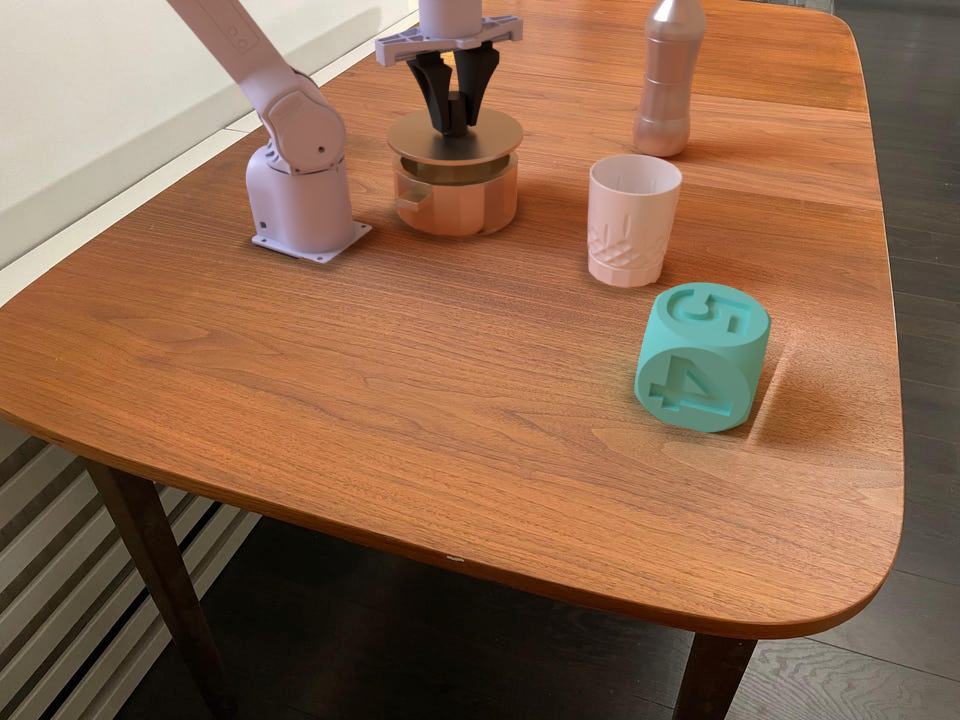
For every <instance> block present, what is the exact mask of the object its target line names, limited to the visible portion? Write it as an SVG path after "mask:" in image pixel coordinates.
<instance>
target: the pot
mask: <svg viewBox="0 0 960 720" xmlns="http://www.w3.org/2000/svg"><path fill="white" fill-rule="evenodd" d="M391 162H392V175H393V176H392V177H393V186H394V198H395V208H396V211H397V213H398V216H399V218H400V220H401V221H403V222H404V223H406V224H407V225H409V226H410V227H412V228H413V229H415V230H419V231H423V232H425V233H428V234H433V235H439V236H458V237H461V236H468V235H474V234H476V235H479V236H482V237H483V236H484V237H486V236H488V235H491V234H494V233H496V232H499V231H501V230H502V229H504V228H506V226H508V225H510V223H511V222H512V221H513V220H514V218H515V217H516V212H517V204H518V169H519V167H518V166H519V165H518V164H519V155H518V153H517V152H516V150H514V151H512V152H511V153H509V154H507V155H505V156H503V157H501V158H498V159H495V160H492V161H488V162H483V163H478V164H471V165H458V166H444V165H433V164H426V163H421V162H417V161H413V160H410V159H407V158H405V157H403V156H401V155H399V154H397V153H396V152H395V154H394V156H393V158H392V160H391Z"/></svg>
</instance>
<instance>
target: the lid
mask: <svg viewBox="0 0 960 720" xmlns="http://www.w3.org/2000/svg"><path fill="white" fill-rule="evenodd" d="M448 108H449V130H448V133H443V134H442V133H440V132H439V131H437V130H436V129H434V128H433V126H432V121H431V117H430V114H429V110H428V108H423V109H419V110H416V111H413V112H409V113H407V114H405V115H403V116H401V117H399V118H397V119H396V120H395V121H393V122H392V123H391V124H390V125H389V126H388V128H387V131H386V142H387V145H388V147H389V148H390V149H391V150H392V152H394V153H395V154H396V153H397V154H399V155H401V156H403V157H405V158H407V159H410V160H413V161H417V162H421V163H426V164H433V165H444V166H458V165H471V164H478V163H483V162H488V161H492V160H495V159H498V158H501V157H503V156H505V155H507V154H509V153H511V152H512V151H516V150H517V148H519V147H520V145H521V144H522V143H523V139H524V129H523V125H521V123H520V122H519V121H518V120H517V119H516V118H515V117H513V116H511V115H509V114H507V113H505V112H502V111H499V110H495V109H492V108H487V107H482V106H480V110H479V114H478V119H477V124H476V126H472V127H470V126H469V125H468V105H467V94H466V93H464V92H461V91H459V90H449V97H448Z"/></svg>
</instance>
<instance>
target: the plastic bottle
mask: <svg viewBox="0 0 960 720" xmlns="http://www.w3.org/2000/svg"><path fill="white" fill-rule="evenodd" d="M707 27H708V22H707V15H706V13H705V11H704V7H703V5H702V4H701V1H700V0H657V1H656V2H655V4H654V5H653V6H652V7H651V9H650V10H649V12H648V14H647V16H646V19H645V21H644V55H645V56H644V74H643V85H642V89H641V95H640V99H639V104H638V110H637V112H636V115H635V117H634V121H633V125H632V140H633V141H632V142H633V143H634V146H635V147H636V149H637V150H638V151H639V152H640V153H643V154H644V155H647V156H652V157H672V156H676V155H678V154H680V153H681V152H682V151H683V150H684V149H685V148H686V147H687V144H688V142H689V139H690V137H691V115H690V112H691V101H692V100H691V99H692V86H693V82H694V75H695V71H696V67H697V61H698V58H699V54H700V51H701V48H702V45H703V42H704V38H705V35H706V30H707Z"/></svg>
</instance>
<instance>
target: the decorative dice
mask: <svg viewBox="0 0 960 720" xmlns="http://www.w3.org/2000/svg"><path fill="white" fill-rule="evenodd" d="M772 320H773V319H772V317H771V315H770V314H769V313H768V311H767V310H766V309H765V307H764V306H763V305H762V304H761V303H760V302H759V301H757V300H756V299H755V298H754V297H752V296H751V295H749V294H748V293H746V292H744V291H742V290H739V289H737V288H734V287H732V286H728V285H725V284H719V283H713V282H698V281H697V282H687V283H682V284H679V285H675V286H673V287H671V288H669V289H666V290H664V291H663V292H661V293H660V294H658V295H657V296H656V297H655V300H654V302H653V305H652V307H651V310H650V314H649V316H648V320H647V325H646V328H645V331H644V334H643V339H642V343H641V348H640V351H639V352H640V353H639V356H638V361H637V365H636V366H637V367H636V373H635V378H634V387H633V389H634V390H633V393H634V395H635V397H636V398H637V401H639V403H640V404H641V405H642V406H643V408H645V410H647V412H648V413H650V414H651V415H652V416H653V417H654V418H656V419H657V420H659V421H660V422H662V423H665V424H669V425H673V426H677V427H681V428H686V429H689V430H694V431H697V432H702V433H718V432H723V431H726V430H730V429H733V428H735V427H738V426H740V425H742V424H744V423H746V422H747V420H748V418H749V416H750V412H751V410H752V407H753V402H754V400H755V396H756V393H757V389H758V386H759V381H760V377H761V374H762V369H763V365H764V361H765V357H766V353H767V348H768V345H769V339H770V334H771V329H772Z"/></svg>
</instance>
